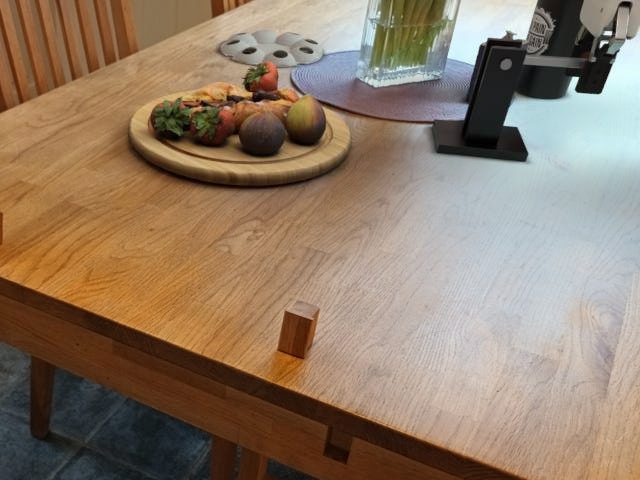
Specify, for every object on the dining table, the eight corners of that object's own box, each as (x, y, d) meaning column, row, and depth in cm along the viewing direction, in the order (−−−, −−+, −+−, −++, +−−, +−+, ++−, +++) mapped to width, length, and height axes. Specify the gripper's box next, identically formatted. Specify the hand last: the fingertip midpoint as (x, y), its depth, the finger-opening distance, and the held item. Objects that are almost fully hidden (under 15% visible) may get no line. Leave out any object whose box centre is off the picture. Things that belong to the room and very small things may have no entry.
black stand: (515, 134, 107) (547, 37, 99) (525, 161, 100) (562, 58, 91) (432, 126, 109) (457, 30, 101) (436, 152, 102) (464, 51, 93)
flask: (504, 93, 122) (526, 25, 115) (517, 99, 119) (539, 30, 113) (460, 99, 119) (479, 31, 112) (472, 105, 117) (493, 36, 110)
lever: (588, 66, 98) (594, 48, 97) (598, 80, 94) (605, 61, 92) (486, 59, 100) (491, 41, 99) (492, 73, 96) (497, 54, 94)
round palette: (199, 51, 137) (200, 40, 136) (258, 31, 149) (259, 20, 148) (285, 74, 128) (287, 62, 126) (341, 50, 139) (343, 39, 138)
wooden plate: (205, 88, 121) (207, 36, 116) (384, 132, 107) (396, 75, 102) (82, 149, 101) (79, 89, 96) (284, 213, 87) (293, 148, 82)
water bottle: (496, 81, 126) (542, -70, 112) (551, 79, 127) (604, -70, 113) (525, 101, 119) (579, -58, 104) (583, 99, 120) (644, -58, 105)
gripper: (698, -55, 78) (628, 109, 90) (651, -79, 91) (596, 67, 103) (624, -58, 80) (564, 104, 91) (588, -82, 93) (540, 63, 104)
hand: (582, 83), depth 97 cm, fingers closed on lever, 6 cm apart
